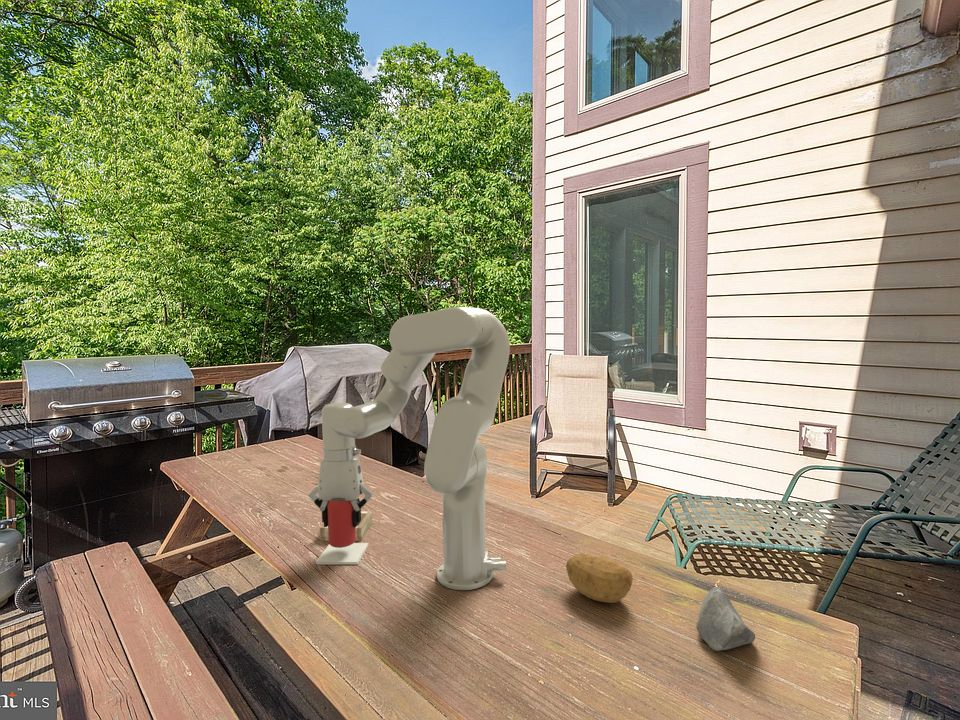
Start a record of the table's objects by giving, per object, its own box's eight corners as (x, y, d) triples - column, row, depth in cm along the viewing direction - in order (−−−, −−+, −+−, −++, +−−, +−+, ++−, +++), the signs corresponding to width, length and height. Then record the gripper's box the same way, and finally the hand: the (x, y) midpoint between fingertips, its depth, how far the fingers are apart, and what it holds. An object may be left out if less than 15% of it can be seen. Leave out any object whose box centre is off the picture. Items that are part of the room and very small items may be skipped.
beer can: (348, 550, 116) (347, 501, 115) (323, 547, 117) (321, 499, 116) (360, 537, 122) (359, 491, 121) (336, 536, 123) (335, 490, 122)
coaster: (368, 545, 124) (368, 542, 124) (357, 564, 114) (357, 561, 114) (330, 545, 125) (330, 542, 125) (315, 564, 115) (315, 561, 115)
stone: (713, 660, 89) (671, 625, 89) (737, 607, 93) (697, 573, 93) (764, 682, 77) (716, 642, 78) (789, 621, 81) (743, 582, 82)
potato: (580, 575, 108) (580, 541, 107) (640, 599, 98) (641, 561, 98) (555, 594, 101) (555, 557, 100) (618, 621, 91) (618, 581, 90)
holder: (372, 523, 138) (372, 511, 138) (361, 540, 127) (361, 527, 127) (334, 523, 138) (334, 511, 138) (320, 540, 127) (320, 527, 127)
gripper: (378, 449, 121) (380, 519, 122) (310, 449, 122) (313, 518, 123) (370, 458, 114) (372, 531, 115) (298, 458, 114) (301, 531, 116)
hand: (341, 524), depth 119 cm, fingers closed on beer can, 6 cm apart
